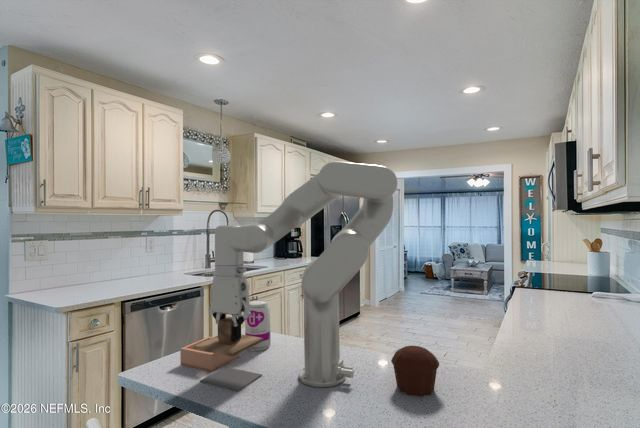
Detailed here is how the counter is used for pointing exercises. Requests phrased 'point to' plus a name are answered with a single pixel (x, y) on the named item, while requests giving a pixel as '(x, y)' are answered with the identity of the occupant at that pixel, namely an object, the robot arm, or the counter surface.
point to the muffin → (415, 370)
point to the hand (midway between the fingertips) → (229, 338)
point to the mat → (231, 378)
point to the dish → (203, 358)
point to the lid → (227, 340)
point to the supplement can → (259, 323)
